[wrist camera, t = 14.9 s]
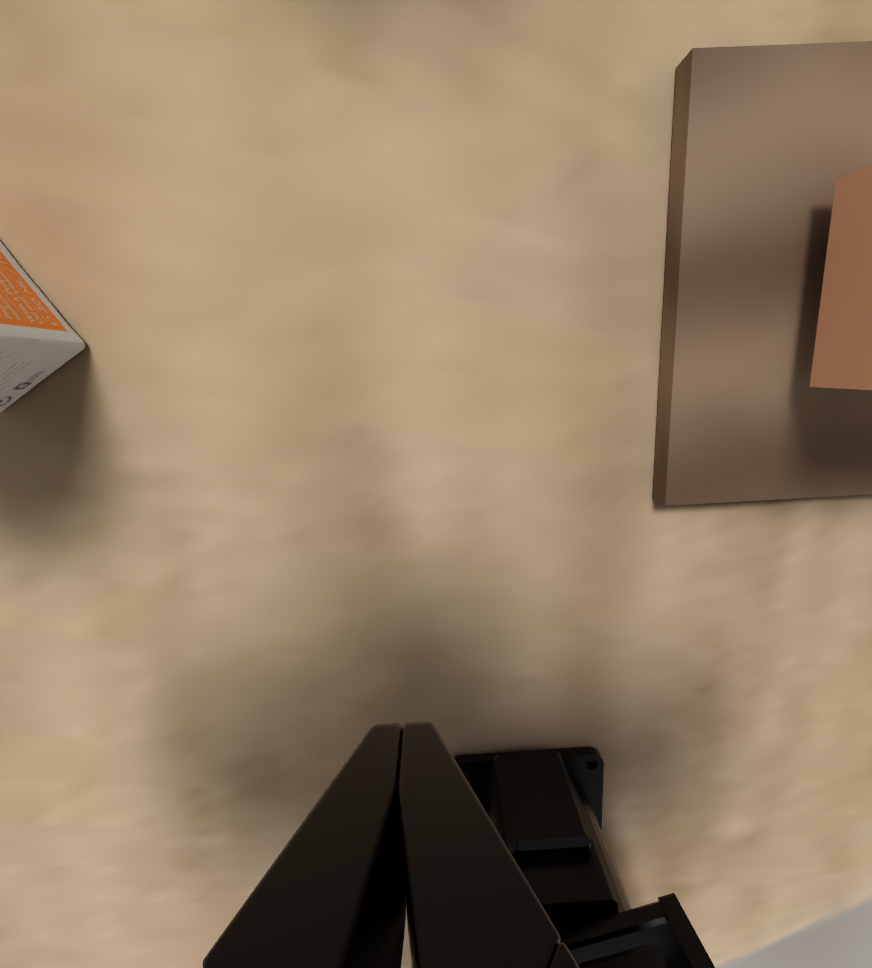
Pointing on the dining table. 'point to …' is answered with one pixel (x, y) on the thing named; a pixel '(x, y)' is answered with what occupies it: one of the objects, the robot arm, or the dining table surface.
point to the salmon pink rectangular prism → (847, 290)
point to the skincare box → (28, 333)
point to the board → (758, 275)
